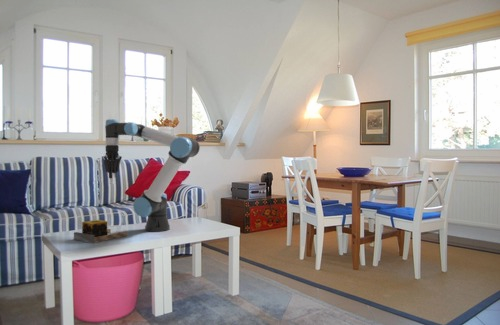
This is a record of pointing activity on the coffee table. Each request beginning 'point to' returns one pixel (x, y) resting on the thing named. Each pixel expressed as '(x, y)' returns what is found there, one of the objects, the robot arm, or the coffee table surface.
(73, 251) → the coffee table surface
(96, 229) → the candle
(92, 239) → the bay
